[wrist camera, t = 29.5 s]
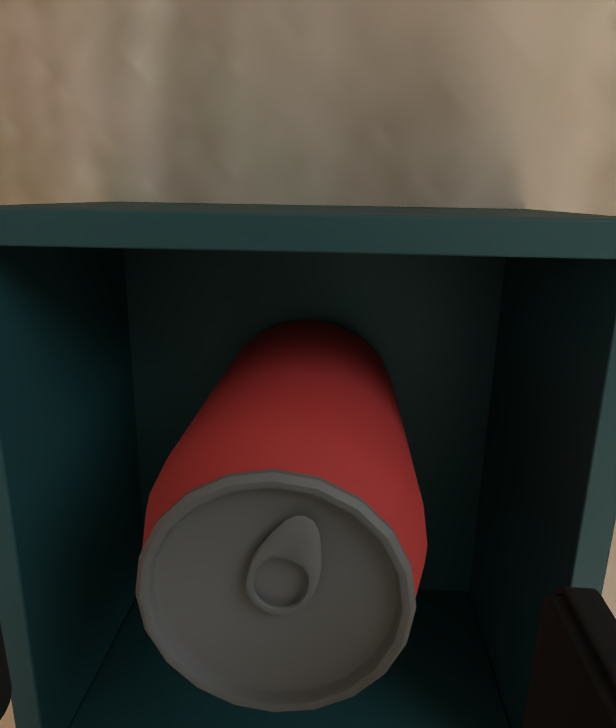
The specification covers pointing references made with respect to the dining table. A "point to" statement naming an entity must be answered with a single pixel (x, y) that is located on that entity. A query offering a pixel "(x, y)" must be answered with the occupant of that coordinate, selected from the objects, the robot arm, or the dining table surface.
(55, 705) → the case
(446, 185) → the dining table surface
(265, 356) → the beer can
